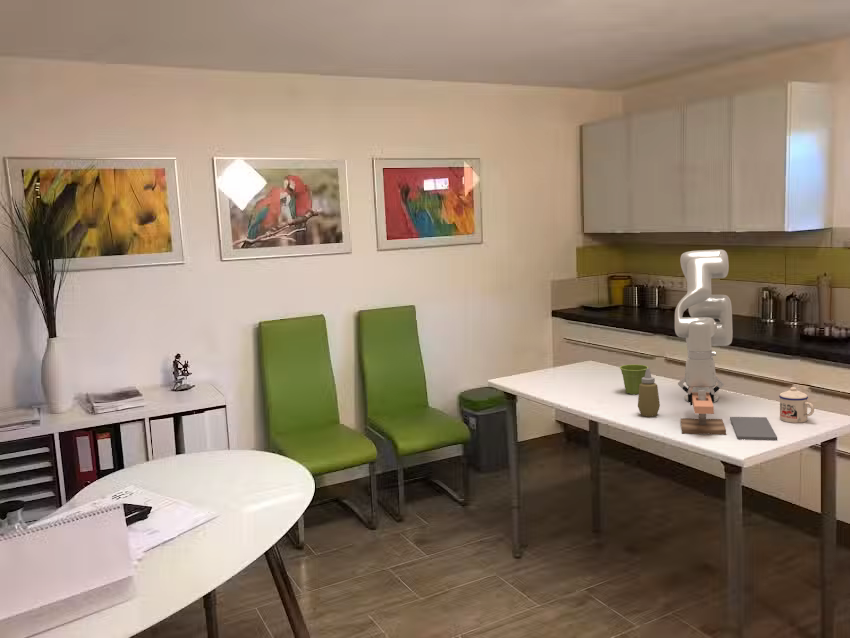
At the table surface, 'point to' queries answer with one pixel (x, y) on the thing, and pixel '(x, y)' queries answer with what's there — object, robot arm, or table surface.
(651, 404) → the squeeze bottle
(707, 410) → the link
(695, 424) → the stand
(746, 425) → the mat
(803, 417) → the teacup with lid
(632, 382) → the plant pot
